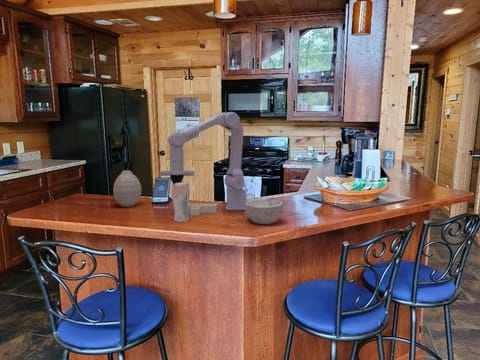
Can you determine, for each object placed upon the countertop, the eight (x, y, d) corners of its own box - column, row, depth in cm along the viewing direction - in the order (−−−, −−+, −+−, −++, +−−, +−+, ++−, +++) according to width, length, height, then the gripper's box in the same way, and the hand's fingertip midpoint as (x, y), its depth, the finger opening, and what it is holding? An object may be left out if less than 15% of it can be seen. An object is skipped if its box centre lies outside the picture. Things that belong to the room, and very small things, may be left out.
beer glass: (182, 216, 156) (181, 181, 154) (193, 219, 152) (192, 183, 149) (169, 220, 151) (168, 184, 148) (180, 223, 146) (179, 185, 144)
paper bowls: (237, 221, 150) (237, 202, 148) (262, 214, 160) (262, 196, 159) (265, 229, 139) (266, 208, 138) (290, 221, 149) (291, 202, 148)
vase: (143, 207, 174) (142, 172, 171) (114, 209, 169) (113, 173, 166) (140, 201, 185) (138, 168, 183) (113, 203, 181) (111, 170, 178)
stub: (200, 212, 163) (200, 205, 162) (199, 215, 158) (199, 208, 158) (191, 212, 163) (191, 205, 162) (190, 215, 158) (189, 208, 157)
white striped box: (217, 209, 169) (217, 202, 169) (216, 212, 163) (216, 205, 163) (188, 209, 169) (188, 202, 169) (186, 212, 163) (186, 205, 163)
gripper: (194, 160, 161) (195, 190, 163) (161, 159, 161) (162, 190, 163) (193, 161, 154) (193, 193, 156) (158, 161, 154) (159, 193, 156)
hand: (177, 192), depth 159 cm, fingers closed
